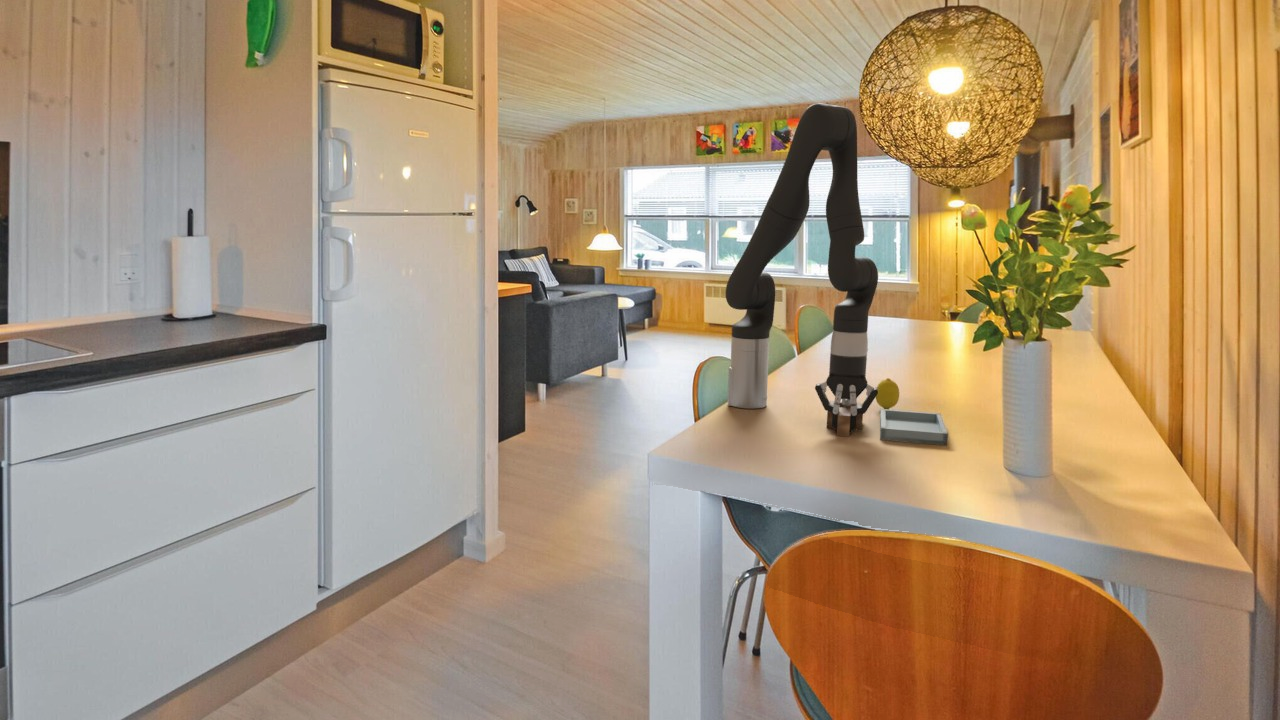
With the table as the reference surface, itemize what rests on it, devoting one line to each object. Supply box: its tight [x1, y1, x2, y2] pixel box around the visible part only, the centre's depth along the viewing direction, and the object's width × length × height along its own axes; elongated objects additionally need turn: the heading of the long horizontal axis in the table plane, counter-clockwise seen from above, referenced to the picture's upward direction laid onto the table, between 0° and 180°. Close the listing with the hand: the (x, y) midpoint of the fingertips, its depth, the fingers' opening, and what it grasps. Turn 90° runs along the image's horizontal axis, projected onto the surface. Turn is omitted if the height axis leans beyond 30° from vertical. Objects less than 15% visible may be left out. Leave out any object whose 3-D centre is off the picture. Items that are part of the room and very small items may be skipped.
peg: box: [841, 398, 851, 408], centre depth 166 cm, size 2×2×9 cm
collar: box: [826, 400, 864, 437], centre depth 163 cm, size 8×14×4 cm, turn 163°
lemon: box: [875, 377, 900, 410], centre depth 180 cm, size 6×6×8 cm
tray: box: [879, 408, 949, 446], centre depth 161 cm, size 13×18×2 cm
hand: (843, 430), depth 160 cm, fingers closed on collar, 2 cm apart
